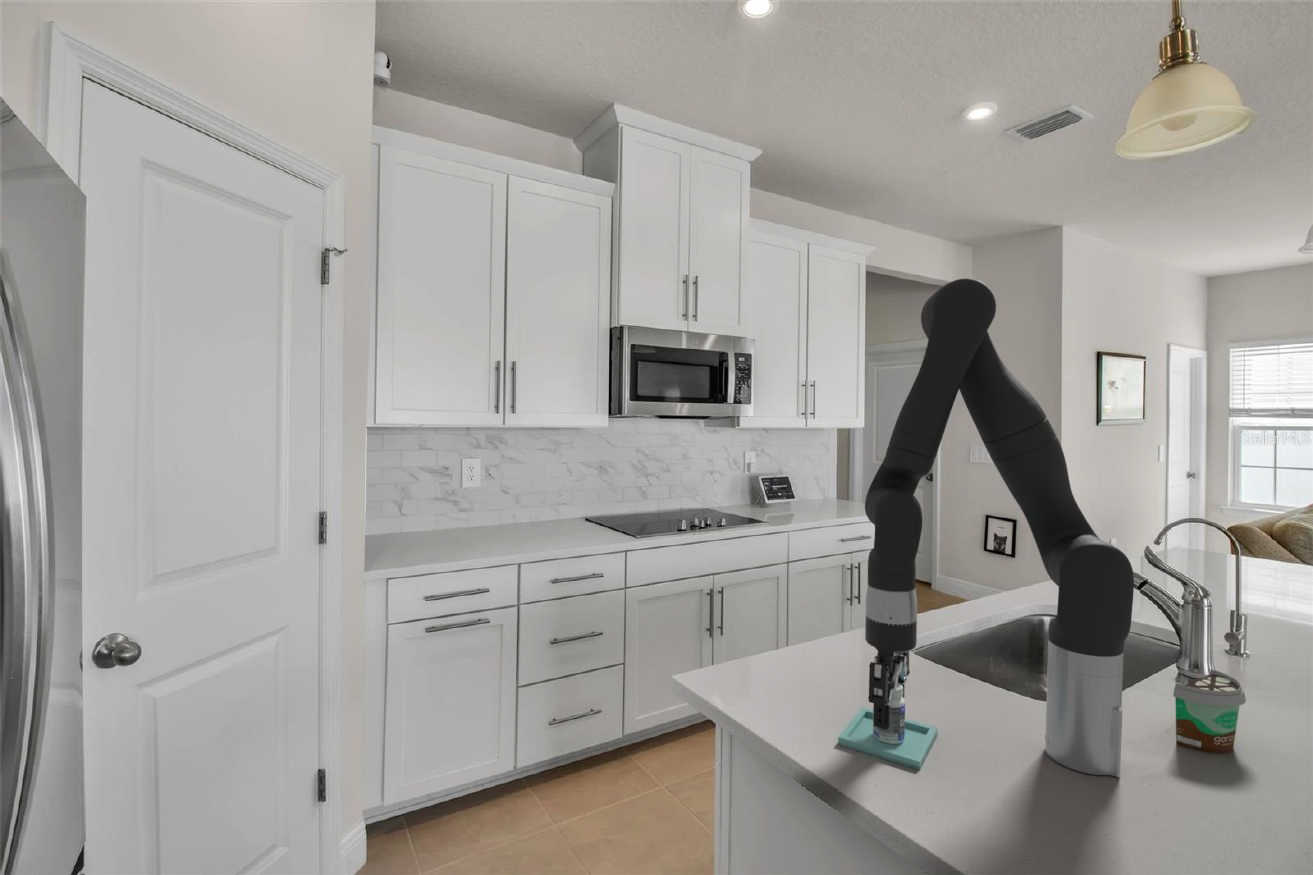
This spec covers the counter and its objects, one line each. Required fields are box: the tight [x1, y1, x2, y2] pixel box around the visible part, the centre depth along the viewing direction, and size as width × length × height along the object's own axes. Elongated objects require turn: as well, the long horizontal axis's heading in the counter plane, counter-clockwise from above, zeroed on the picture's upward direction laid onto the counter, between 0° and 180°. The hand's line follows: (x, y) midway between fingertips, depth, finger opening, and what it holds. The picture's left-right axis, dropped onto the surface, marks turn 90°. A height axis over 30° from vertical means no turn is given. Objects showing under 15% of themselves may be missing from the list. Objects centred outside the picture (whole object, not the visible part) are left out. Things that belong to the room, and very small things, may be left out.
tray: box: [837, 706, 939, 771], centre depth 100 cm, size 12×12×1 cm
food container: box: [1172, 668, 1247, 755], centre depth 98 cm, size 12×6×10 cm, turn 118°
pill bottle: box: [872, 682, 906, 744], centre depth 100 cm, size 5×5×8 cm
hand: (889, 716), depth 99 cm, fingers open, 8 cm apart
